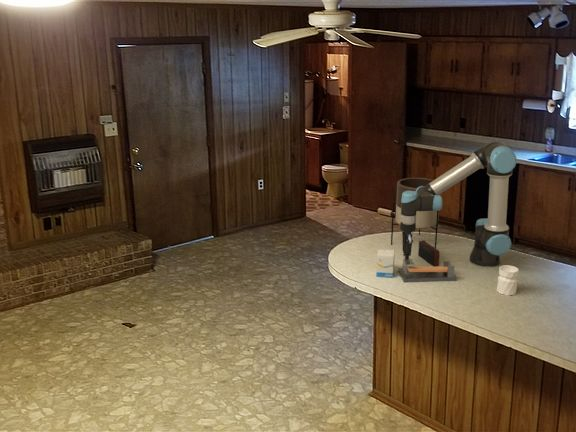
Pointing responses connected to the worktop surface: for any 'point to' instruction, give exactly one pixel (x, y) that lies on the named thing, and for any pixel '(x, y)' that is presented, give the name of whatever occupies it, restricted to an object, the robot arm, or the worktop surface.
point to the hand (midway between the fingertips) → (405, 266)
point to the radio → (428, 253)
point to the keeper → (405, 265)
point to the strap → (426, 269)
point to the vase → (507, 279)
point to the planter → (423, 217)
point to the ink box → (385, 263)
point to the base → (430, 275)
